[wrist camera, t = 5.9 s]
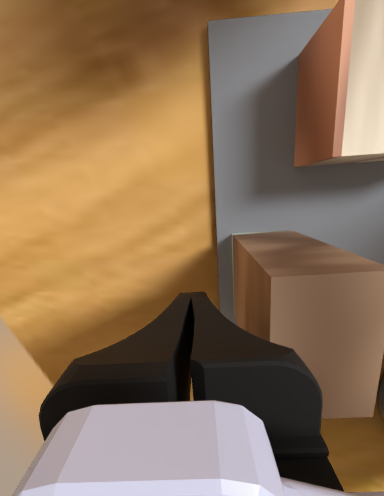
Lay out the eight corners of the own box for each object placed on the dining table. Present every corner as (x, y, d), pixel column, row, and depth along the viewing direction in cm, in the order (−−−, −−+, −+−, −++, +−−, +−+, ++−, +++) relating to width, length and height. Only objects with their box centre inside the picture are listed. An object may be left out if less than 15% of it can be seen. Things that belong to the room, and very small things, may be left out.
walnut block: (291, 230, 15) (397, 270, 7) (288, 310, 16) (373, 417, 8) (231, 233, 15) (271, 277, 7) (233, 313, 16) (268, 420, 9)
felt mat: (462, 2, 12) (471, -5, 12) (403, 324, 17) (408, 327, 16) (207, 26, 12) (208, 20, 12) (220, 333, 17) (221, 337, 17)
